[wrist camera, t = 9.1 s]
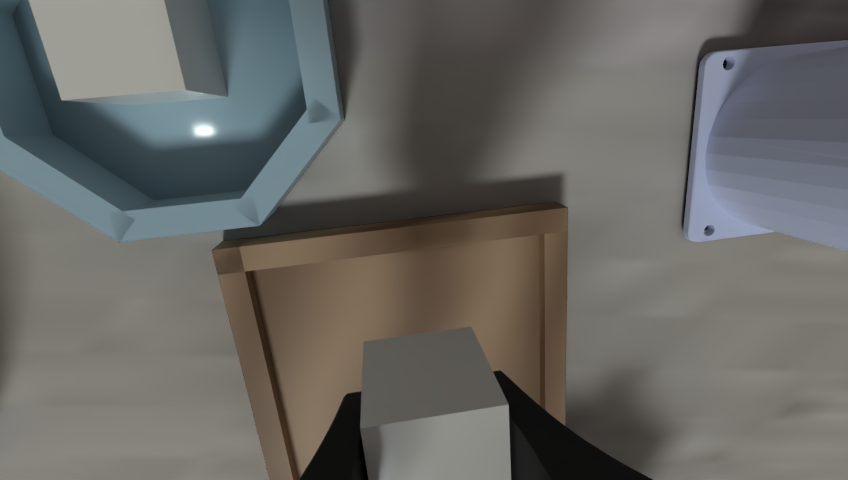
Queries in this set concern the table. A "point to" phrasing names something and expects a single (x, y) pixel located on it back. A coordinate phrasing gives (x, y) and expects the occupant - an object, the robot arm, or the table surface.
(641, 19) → the table surface
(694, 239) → the robot arm
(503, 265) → the tray
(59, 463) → the table surface
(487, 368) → the sharp-edged grey cuboid
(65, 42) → the light grey block
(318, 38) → the bowl
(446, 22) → the table surface
